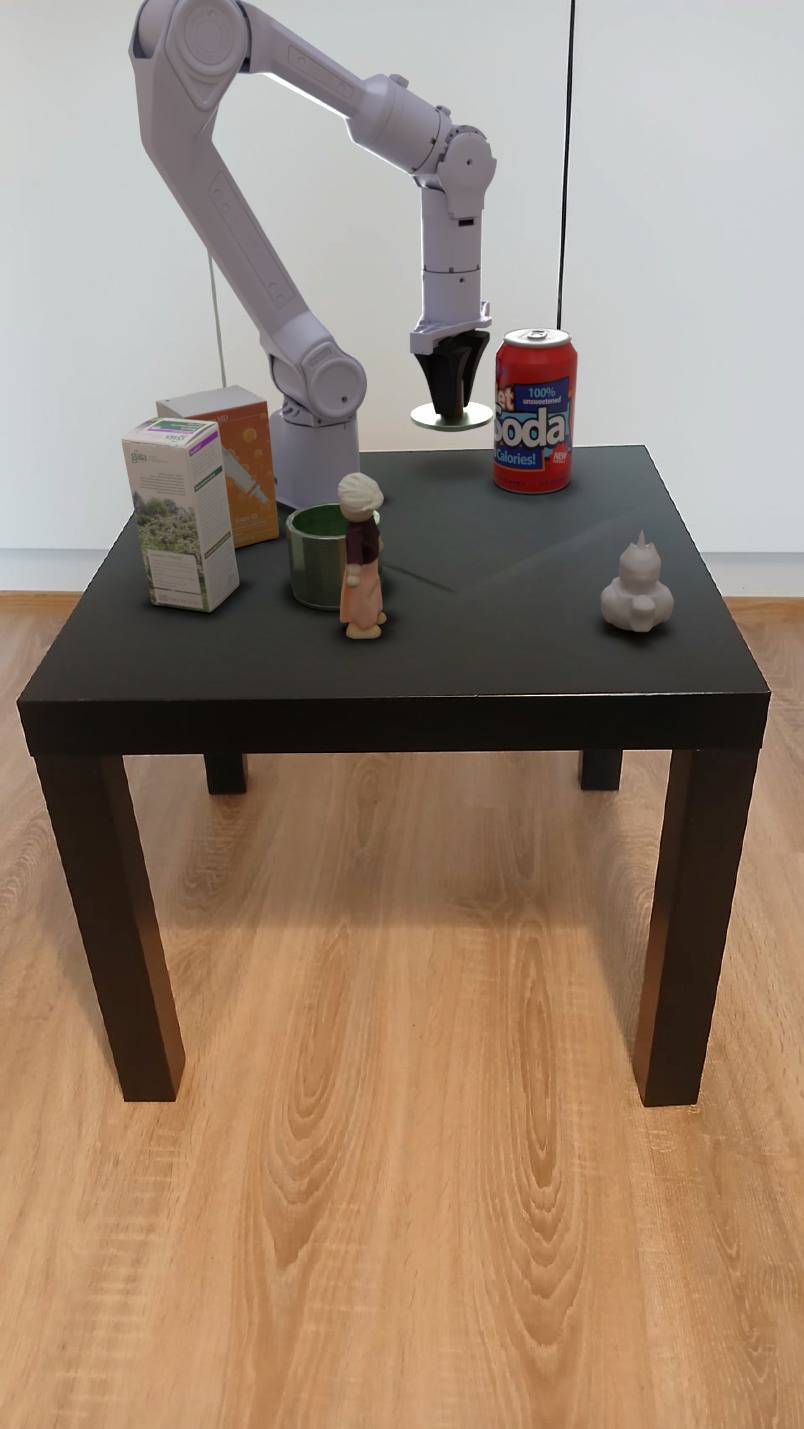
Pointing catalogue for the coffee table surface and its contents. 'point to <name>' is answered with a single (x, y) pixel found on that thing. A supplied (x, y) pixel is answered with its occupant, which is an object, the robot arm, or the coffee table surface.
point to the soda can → (534, 410)
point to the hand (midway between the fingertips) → (451, 410)
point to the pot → (320, 554)
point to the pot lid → (461, 421)
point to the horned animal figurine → (637, 591)
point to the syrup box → (182, 512)
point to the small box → (238, 455)
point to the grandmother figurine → (361, 557)
